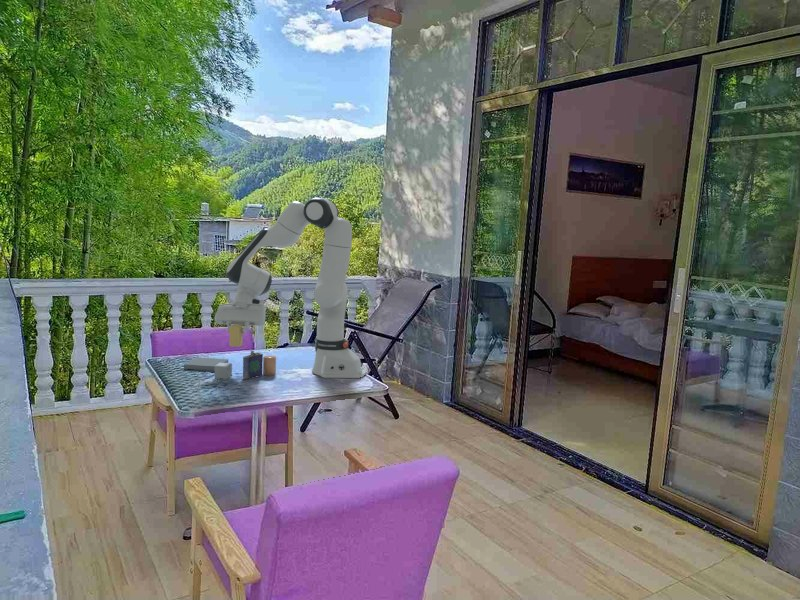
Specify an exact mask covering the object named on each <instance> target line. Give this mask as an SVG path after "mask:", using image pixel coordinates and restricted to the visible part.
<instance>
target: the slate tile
mask: <svg viewBox="0 0 800 600" xmlns="http://www.w3.org/2000/svg"><path fill="white" fill-rule="evenodd" d="M218 363H229V358H228V359H227V358H215V357H214V358H212V357H198V356H197V357H195V358H193V359H191V360H188V361H187V362H186V363H184V364H183V369H184V370H188V369H194V370H193V371H205V370H206V371H209V372H215V365H217V364H218Z"/></svg>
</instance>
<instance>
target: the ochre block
mask: <svg viewBox="0 0 800 600" xmlns="http://www.w3.org/2000/svg"><path fill="white" fill-rule="evenodd" d="M243 327H244V325H231V326H230V327H229V333H228V335H229V337H228V338H229V340H228V341H229V343H228V344H229V347H236V348H237V347H238V348H239V347H241V346H243V342H244V340H243V339H244V338H243V337H244V336H243V334H244V333H241V328H243Z"/></svg>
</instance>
